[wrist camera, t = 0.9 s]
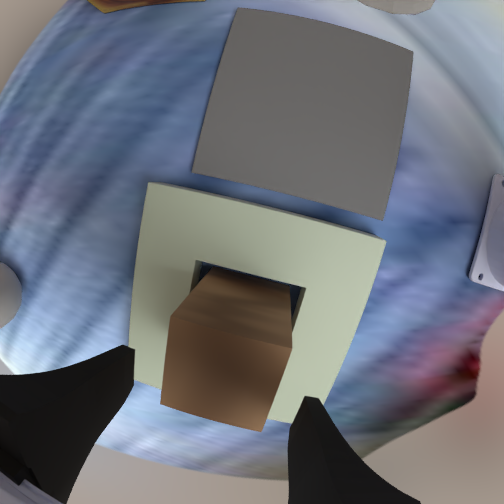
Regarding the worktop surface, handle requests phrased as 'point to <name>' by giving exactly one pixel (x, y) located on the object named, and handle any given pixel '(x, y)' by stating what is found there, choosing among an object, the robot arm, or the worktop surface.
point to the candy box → (128, 4)
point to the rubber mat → (307, 111)
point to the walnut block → (228, 349)
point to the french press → (400, 5)
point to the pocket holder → (257, 263)
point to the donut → (9, 294)
